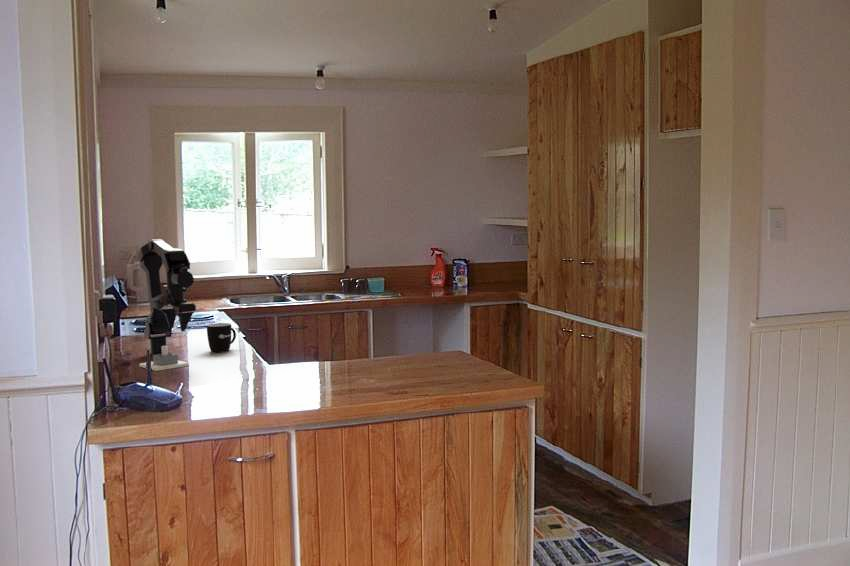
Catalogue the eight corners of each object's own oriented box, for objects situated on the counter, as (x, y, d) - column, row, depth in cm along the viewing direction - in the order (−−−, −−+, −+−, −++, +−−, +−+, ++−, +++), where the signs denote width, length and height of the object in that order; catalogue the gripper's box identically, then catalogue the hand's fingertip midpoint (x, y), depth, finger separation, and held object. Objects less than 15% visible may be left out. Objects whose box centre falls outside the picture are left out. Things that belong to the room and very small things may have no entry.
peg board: (139, 366, 280) (138, 346, 279) (172, 361, 288) (171, 341, 287) (155, 370, 271) (154, 350, 270) (188, 365, 279) (187, 345, 279)
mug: (218, 354, 302) (216, 326, 301) (202, 352, 307) (201, 325, 307) (243, 349, 312) (242, 322, 311) (228, 347, 317) (227, 321, 316)
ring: (153, 363, 279) (152, 355, 279) (169, 361, 283) (169, 352, 283) (161, 365, 275) (160, 357, 274) (178, 363, 279) (177, 354, 278)
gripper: (141, 285, 287) (143, 329, 288) (164, 289, 273) (166, 335, 274) (172, 283, 294) (173, 326, 296) (195, 286, 280) (197, 332, 282)
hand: (177, 329), depth 287 cm, fingers open, 9 cm apart
